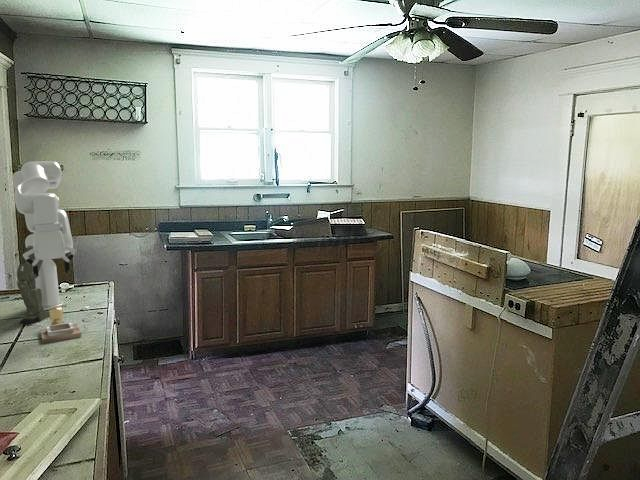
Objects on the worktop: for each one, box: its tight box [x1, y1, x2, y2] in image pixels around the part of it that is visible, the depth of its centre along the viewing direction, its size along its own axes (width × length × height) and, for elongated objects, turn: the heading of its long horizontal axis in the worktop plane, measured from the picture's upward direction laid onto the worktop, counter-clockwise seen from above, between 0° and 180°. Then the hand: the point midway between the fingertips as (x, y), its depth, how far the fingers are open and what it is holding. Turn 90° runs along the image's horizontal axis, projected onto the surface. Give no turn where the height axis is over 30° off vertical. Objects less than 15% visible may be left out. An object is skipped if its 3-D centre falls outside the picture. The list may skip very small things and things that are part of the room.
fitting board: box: [39, 322, 82, 344], centre depth 182 cm, size 11×12×3 cm
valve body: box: [48, 306, 65, 325], centre depth 191 cm, size 4×4×7 cm
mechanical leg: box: [16, 246, 50, 325], centre depth 199 cm, size 14×7×30 cm, turn 168°
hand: (52, 274), depth 188 cm, fingers open, 9 cm apart
